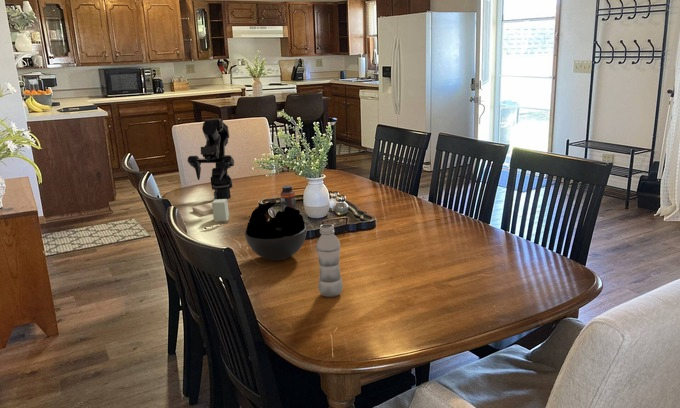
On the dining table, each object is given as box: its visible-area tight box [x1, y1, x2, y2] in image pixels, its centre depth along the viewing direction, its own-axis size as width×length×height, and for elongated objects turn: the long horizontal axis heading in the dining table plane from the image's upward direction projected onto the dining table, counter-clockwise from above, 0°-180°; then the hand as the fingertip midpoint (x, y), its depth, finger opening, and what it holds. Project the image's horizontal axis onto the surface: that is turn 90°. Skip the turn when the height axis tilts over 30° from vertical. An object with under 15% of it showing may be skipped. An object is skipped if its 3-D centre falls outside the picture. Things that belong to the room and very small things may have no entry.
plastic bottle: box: [315, 223, 344, 298], centre depth 155 cm, size 6×7×20 cm
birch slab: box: [191, 202, 213, 217], centre depth 243 cm, size 10×10×2 cm
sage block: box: [211, 199, 230, 225], centre depth 229 cm, size 5×5×9 cm
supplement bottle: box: [280, 184, 297, 212], centre depth 237 cm, size 6×6×11 cm
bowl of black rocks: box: [244, 201, 308, 261], centre depth 185 cm, size 20×20×19 cm
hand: (209, 179), depth 239 cm, fingers open, 9 cm apart
